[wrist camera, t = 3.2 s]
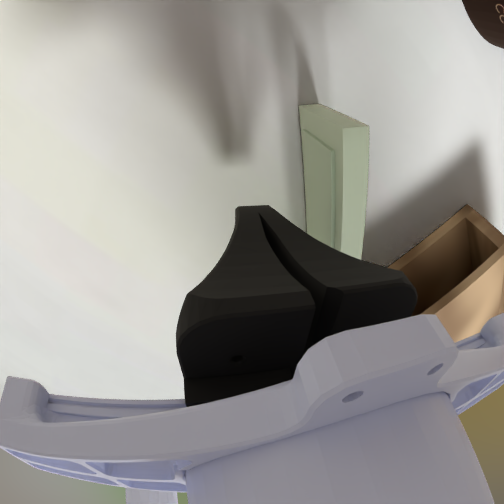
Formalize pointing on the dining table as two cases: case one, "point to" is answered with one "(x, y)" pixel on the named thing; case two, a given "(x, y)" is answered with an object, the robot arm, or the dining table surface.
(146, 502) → the soap bottle
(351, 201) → the door
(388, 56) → the dining table surface
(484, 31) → the coffee mug
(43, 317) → the dining table surface
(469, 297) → the cabinet
